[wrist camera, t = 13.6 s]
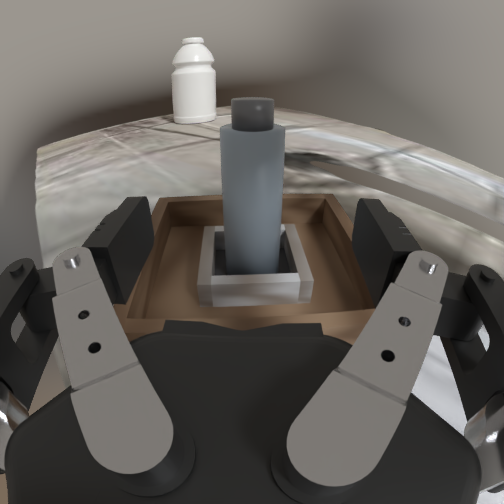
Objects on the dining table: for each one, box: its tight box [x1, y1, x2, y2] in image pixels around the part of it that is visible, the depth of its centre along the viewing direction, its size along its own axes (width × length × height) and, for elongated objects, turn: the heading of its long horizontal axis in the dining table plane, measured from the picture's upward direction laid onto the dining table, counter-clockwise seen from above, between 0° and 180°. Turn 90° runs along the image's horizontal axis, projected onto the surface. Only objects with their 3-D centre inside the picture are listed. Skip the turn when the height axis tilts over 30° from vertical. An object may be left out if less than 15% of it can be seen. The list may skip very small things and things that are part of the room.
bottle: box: [171, 37, 217, 124], centre depth 85 cm, size 14×14×28 cm
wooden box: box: [113, 194, 375, 345], centre depth 26 cm, size 19×19×4 cm
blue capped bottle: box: [220, 97, 285, 275], centre depth 23 cm, size 4×4×14 cm
